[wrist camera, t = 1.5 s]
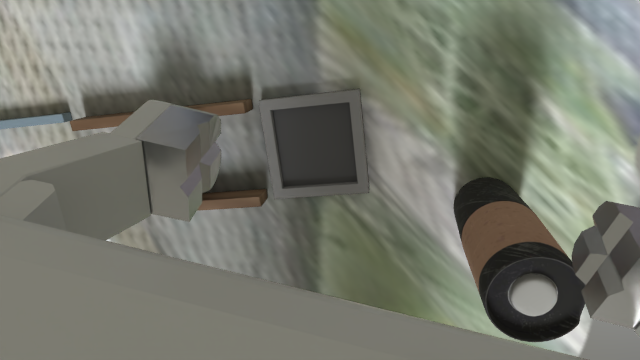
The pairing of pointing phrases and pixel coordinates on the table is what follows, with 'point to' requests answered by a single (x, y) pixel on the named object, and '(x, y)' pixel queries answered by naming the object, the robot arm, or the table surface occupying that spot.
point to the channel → (208, 199)
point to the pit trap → (315, 144)
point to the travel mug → (517, 264)
